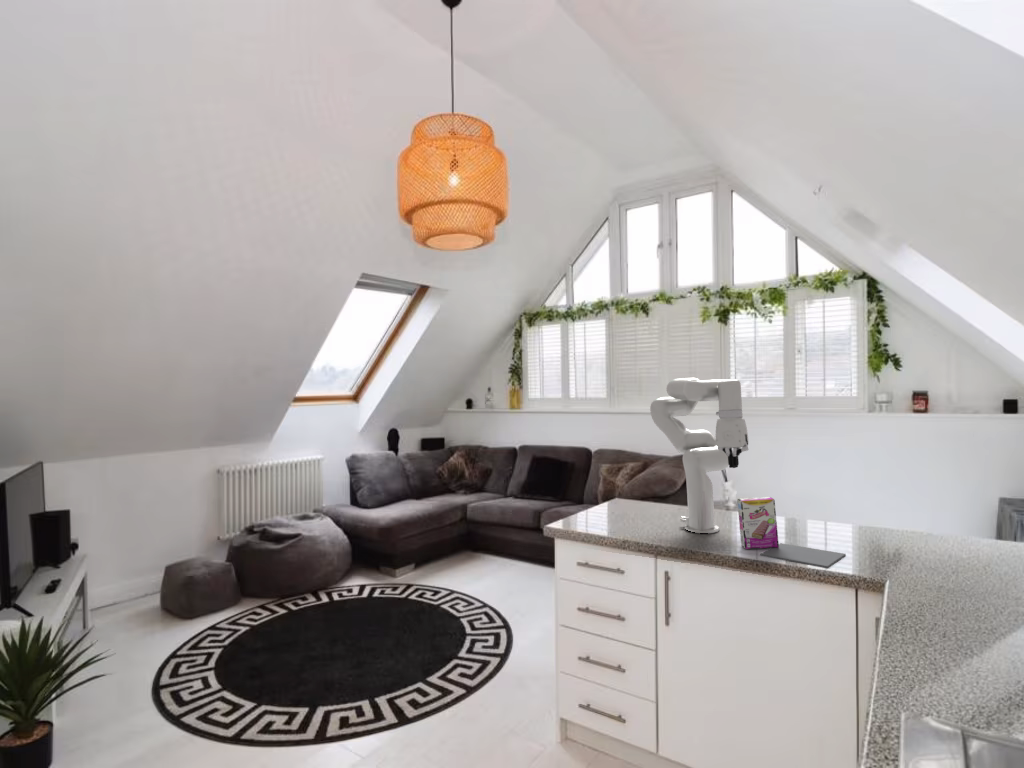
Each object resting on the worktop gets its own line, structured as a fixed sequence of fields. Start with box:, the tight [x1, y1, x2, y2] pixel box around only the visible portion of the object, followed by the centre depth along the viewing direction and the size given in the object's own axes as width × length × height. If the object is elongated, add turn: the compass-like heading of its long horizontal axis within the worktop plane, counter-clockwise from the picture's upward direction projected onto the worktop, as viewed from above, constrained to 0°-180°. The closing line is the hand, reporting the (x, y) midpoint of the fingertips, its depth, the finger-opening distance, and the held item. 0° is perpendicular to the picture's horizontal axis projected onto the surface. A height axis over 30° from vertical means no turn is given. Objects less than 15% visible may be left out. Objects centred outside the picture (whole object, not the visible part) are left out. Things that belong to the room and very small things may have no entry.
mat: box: [759, 542, 846, 569], centre depth 180 cm, size 20×16×1 cm
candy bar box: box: [736, 496, 780, 550], centre depth 190 cm, size 11×5×16 cm, turn 84°
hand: (733, 467), depth 196 cm, fingers closed
